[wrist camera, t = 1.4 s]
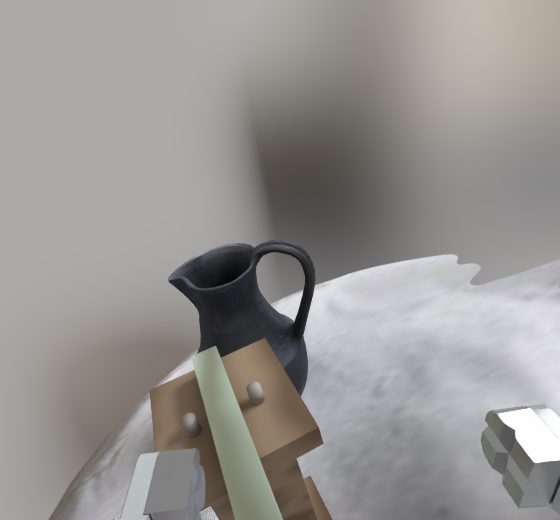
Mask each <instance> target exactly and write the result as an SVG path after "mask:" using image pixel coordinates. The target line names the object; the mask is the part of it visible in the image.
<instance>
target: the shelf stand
mask: <svg viewBox="0 0 560 520" xmlns="http://www.w3.org/2000/svg"><path fill="white" fill-rule="evenodd" d="M221 360H222V362H223V365H224V367H225V370H226V372H227V375H228V378H229V380H230V383H231V385H232V388H233V391H234V393H235V396H236V398H237V401H238V404H239V406H240V409H241V411H242V414H243V417H244V419H245V422H246V425H247V427H248V430H249V432H250V435H251V438H252V440H253V443H254V445H255V448H256V451H257V453H258V456H259V458H260V461H261V464H262V466H263V469H264V471H265V474H266V477H267V479H268V482H269V484H270V487H271V490H272V492H273V495H274V498H275V500H276V503H277V505H278V508H279V511H280V513H281V516H282V518H283V520H332V518H331V516H330V514H329V512H328V510H327V508H326V506H325V504H324V502H323V500H322V498H321V496H320V494H319V492H318V490H317V488H316V486H315V484H314V482H313V480H312V478H311V476H309V477H307V478H305V479H303V477H302V474H301V471H300V468H299V465H298V462H297V459H296V458H298V457H300V456H302V455H303V454H305V453H307V452H309V451H311V450H313V449H314V448H316V447H318V446H320V445H322V444H323V441H322V437H321V434H320V430H319V427H318V425H317V423H316V422H315V420H314V419H313V417H312V415H311V414H310V412H309V410H308V409H307V407H306V405H305V404H304V402H303V400H302V399H301V397H300V395H299V394H298V392H297V390H296V389H295V387H294V385H293V384H292V382H291V380H290V379H289V377H288V375H287V374H286V372H285V370H284V369H283V367H282V365H281V364H280V362H279V360H278V359H277V357H276V355H275V354H274V352H273V350H272V349H271V347H270V345H269V344H268V342H267V340H266V339H265V338H263V339H261V340H259V341H257V342H255V343H252V344H250V345H248V346H246V347H244V348H241V349H239V350H237V351H235V352H233V353H230V354H228V355H226V356H224V357H222V358H221ZM150 399H151V410H152V420H153V431H154V441H155V452H162V451H172V450H182V449H193V448H198V450H199V454H200V462H199V465H201V466H202V467H203V469H204V474H205V503H204V506H203V508H202V509H201V511H202V510H204V509H205V508H207V507H209V506H211V507H212V509H213V510H214V512H215V514H216V515H217V517H218V519H219V520H235V517H234V514H233V510H232V506H231V503H230V499H229V495H228V491H227V488H226V484H225V480H224V477H223V473H222V469H221V465H220V462H219V458H218V454H217V451H216V447H215V443H214V439H213V436H212V432H211V428H210V425H209V421H208V417H207V414H206V410H205V406H204V402H203V399H202V395H201V391H200V388H199V384H198V380H197V376H196V373H195V370H193V371H191V372H189V373H187V374H184V375H182V376H180V377H178V378H176V379H173V380H171V381H169V382H167V383H165V384H162V385H160V386H158V387H156V388H154V389H152V390H150Z"/></svg>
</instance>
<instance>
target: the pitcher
mask: <svg viewBox="0 0 560 520" xmlns="http://www.w3.org/2000/svg"><path fill="white" fill-rule="evenodd" d="M271 252H279V253H284V254H288V255H291V256H293V257H295V258H296V259H297V260H299V262H300V263H301V265H302V268H303V270H304V274H305V286H304V291H303V296H302V299H301V303H300V307H299V310H298V313H297V316H296V319H295V322H294V321H293V320H292V319H290V318H289V317H287V316H285V315H283V314H280V313H278V312H277V311H276V310H275V309H274V308H273V307H272V306H271V305H270V304H269V303H268V302H267V301H266V299H265V298H264V297H263V295H262V294H261V292H260V290H259V288H258V285H257V277H256V266H257V263H258V262H259V260H260V258H261V257H262V256H263V255H265V254H268V253H271ZM168 280H169V283H171V284H172V285H174V286H175V287H176V288H177V289H178V290H179V291H181V292H182V293H183V294H184V295H185V296H186V297H187V298H188V299H189V300H190V301H191V302H192V303H193V304H194V305H195V307H196V308H197V310H198V312H199V321H200V331H201V343H200V348H199V350H198V353H200V352H203V351H205V350H207V349H209V348H212V347H214V346H216V348H217V350H218V353H219V355H220V357H221V358H222V357H224V356H226V355H228V354H230V353H233V352H235V351H237V350H239V349H241V348H244V347H246V346H248V345H250V344H252V343H255V342H257V341H259V340H261V339H263V338H265V339H266V340H267V342H268V344H269V345H270V347H271V349H272V350H273V352H274V354H275V355H276V357H277V359H278V360H279V362H280V364H281V365H282V367H283V369H284V370H285V372H286V374H287V375H288V377H289V379H290V380H291V382H292V384H293V385H294V387H295V389H296V390H297V392H298V394H299V395H300V397H301V395H302V392H303V390H304V388H305V385H306V380H307V373H308V359H307V351H306V345H305V341H304V337H303V334H304V330H305V326H306V321H307V317H308V313H309V309H310V305H311V301H312V297H313V293H314V287H315V269H314V266H313V263H312V261H311V259H310V257H309V255H308V254H307V252H306V251H305V250H303V248H301V247H300V246H298V245H297V244H295V243H293V242H289V241H285V240H272V241H268V242H265V243H262V244H260V245H258V246H257V247H255V248H254V247H252V246H251V245H247V244H240V243H238V244H227V245H221V246H218V247H214V248H211V249H209V250H207V251H204V252H203V253H201V254H199V255H197V256H195V257H193V258H192V259H190V260H189V261H187V262H185V263H184V264H183V265H181V266H180V267H179V268H178V269H176V271H174V272H173V273H172V274H171V275H170V277H169V278H168ZM198 353H197V354H198Z"/></svg>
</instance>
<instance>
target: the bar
mask: <svg viewBox="0 0 560 520" xmlns="http://www.w3.org/2000/svg"><path fill="white" fill-rule="evenodd" d="M191 358H192V362H193V365H194V369H195V373H196V376H197V380H198V384H199V388H200V391H201V395H202V399H203V402H204V406H205V410H206V414H207V417H208V421H209V425H210V428H211V432H212V436H213V439H214V443H215V447H216V451H217V454H218V458H219V462H220V465H221V469H222V473H223V477H224V480H225V484H226V488H227V491H228V495H229V499H230V503H231V506H232V510H233V514H234V517H235V520H283V518H282V516H281V513H280V511H279V508H278V505H277V503H276V500H275V498H274V495H273V492H272V490H271V487H270V484H269V482H268V479H267V477H266V474H265V471H264V469H263V466H262V464H261V461H260V458H259V456H258V453H257V451H256V448H255V445H254V443H253V440H252V438H251V435H250V432H249V430H248V427H247V425H246V422H245V419H244V417H243V414H242V411H241V409H240V406H239V404H238V401H237V398H236V396H235V393H234V391H233V388H232V385H231V383H230V380H229V378H228V375H227V372H226V370H225V367H224V365H223V362H222V360H221V357H220V355H219V353H218V350H217V348H216V346H214V347H212V348H209V349H207V350H205V351H203V352H200V353H198V354H196V355H194V356H191Z"/></svg>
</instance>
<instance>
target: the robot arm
mask: <svg viewBox="0 0 560 520" xmlns="http://www.w3.org/2000/svg"><path fill="white" fill-rule="evenodd" d="M485 421H486V422H487V424H488V425H489V426H488V427H487V428H486V429H485V430H484V431H483V432H482V437H481V443H482V448H483V452H484V454H485V456H486V458H487V460H488V462H489V463H490V465H491V467H492V468H494V469H495V470H497V471H498V472H500V473H501V474H503V480H502V484H503V485H504V487H505V488H506V490H507V491H508V493H509V494H510V496H511V497H512V499H513V500H514V502H515V504H516V505H517V507H518V508H528V507H538V506H547V505H551V508H553V509H554V510H555V511H556V512H558V513H559V514H560V418H559V417H558V416H557V415H556V414H555V413H554V412H553V411H552V410H551V409H550V408H549V407H547V406H546V405H544V404H540V405H532V406H525V407H523V406H521V407H514V408H507V409H500V410H493V411H489V412H488V413H487V415H486V419H485ZM199 462H200V454H199V450H198V448H193V449H182V450H172V451H162V452H153V453H144V454H141V455H140V456H139V458H138V459H137V462H136V465H135V469H134V472H133V475H132V479H131V482H130V486H129V489H128V492H127V496H126V499H125V503H124V506H123V509H122V513H121V516H120V518H118V519H114V520H201V516H200V511H201V509H202V508H203V506H204V503H205V474H204V469H203V467H202V466H201V465H199Z"/></svg>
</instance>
